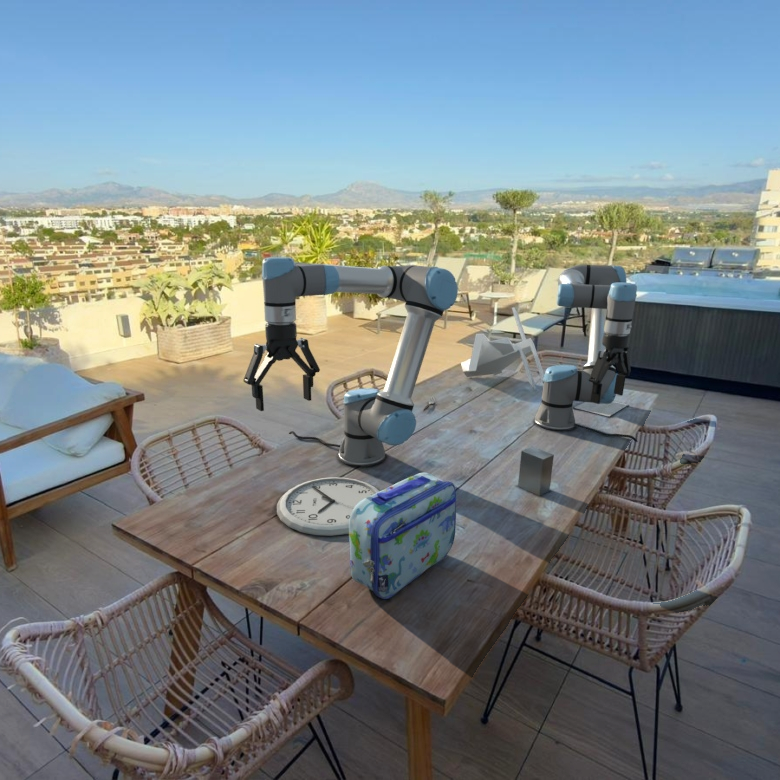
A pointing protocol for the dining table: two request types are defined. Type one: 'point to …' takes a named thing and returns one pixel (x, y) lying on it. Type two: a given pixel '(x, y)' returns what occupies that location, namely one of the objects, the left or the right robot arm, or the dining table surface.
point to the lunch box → (401, 532)
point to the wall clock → (323, 505)
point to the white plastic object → (500, 355)
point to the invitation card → (601, 408)
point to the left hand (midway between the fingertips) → (284, 404)
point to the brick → (535, 470)
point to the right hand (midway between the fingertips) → (606, 398)
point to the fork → (430, 403)
